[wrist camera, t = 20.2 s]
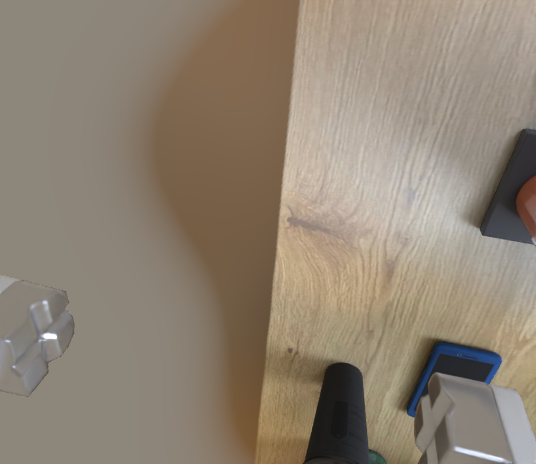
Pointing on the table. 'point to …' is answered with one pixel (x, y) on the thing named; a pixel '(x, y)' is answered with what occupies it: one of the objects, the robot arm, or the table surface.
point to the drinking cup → (340, 419)
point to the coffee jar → (376, 458)
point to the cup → (528, 207)
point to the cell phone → (455, 368)
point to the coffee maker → (512, 193)
